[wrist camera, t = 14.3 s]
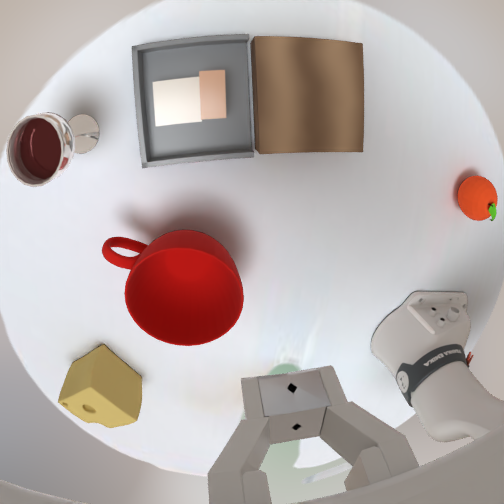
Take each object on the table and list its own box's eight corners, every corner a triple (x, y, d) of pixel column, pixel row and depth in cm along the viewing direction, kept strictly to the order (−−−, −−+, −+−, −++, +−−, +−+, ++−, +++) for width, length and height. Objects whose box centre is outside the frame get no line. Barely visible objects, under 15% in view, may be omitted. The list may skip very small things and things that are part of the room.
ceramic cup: (142, 177, 36) (120, 203, 28) (256, 243, 42) (268, 284, 33) (101, 258, 40) (77, 300, 32) (205, 311, 46) (205, 360, 37)
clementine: (484, 196, 43) (511, 211, 37) (460, 223, 45) (487, 241, 39) (468, 161, 40) (498, 174, 34) (443, 189, 42) (472, 206, 35)
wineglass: (94, 168, 35) (52, 198, 24) (51, 149, 33) (-1, 173, 22) (114, 118, 33) (74, 128, 22) (69, 99, 30) (17, 105, 20)
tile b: (224, 69, 27) (199, 71, 27) (226, 118, 29) (200, 119, 29) (223, 74, 32) (200, 75, 31) (224, 115, 34) (202, 117, 34)
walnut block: (348, 47, 32) (362, 43, 28) (349, 146, 38) (363, 152, 34) (250, 42, 31) (254, 36, 27) (255, 148, 37) (259, 154, 33)
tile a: (152, 82, 29) (156, 83, 31) (155, 126, 31) (159, 124, 33) (199, 76, 29) (200, 78, 32) (201, 121, 32) (202, 120, 34)
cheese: (109, 393, 53) (100, 434, 44) (68, 360, 48) (53, 401, 40) (146, 377, 52) (139, 422, 43) (103, 339, 47) (88, 384, 38)
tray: (245, 39, 30) (248, 34, 28) (251, 152, 37) (254, 157, 34) (137, 50, 29) (131, 46, 27) (147, 162, 36) (142, 168, 33)
